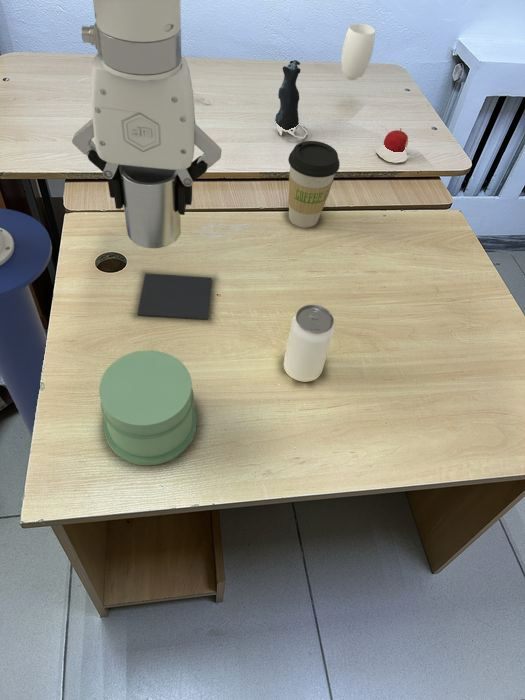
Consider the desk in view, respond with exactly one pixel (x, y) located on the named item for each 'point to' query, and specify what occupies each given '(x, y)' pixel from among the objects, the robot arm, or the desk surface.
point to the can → (308, 342)
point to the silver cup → (151, 205)
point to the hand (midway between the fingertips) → (152, 203)
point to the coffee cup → (310, 180)
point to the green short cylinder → (148, 407)
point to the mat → (175, 296)
